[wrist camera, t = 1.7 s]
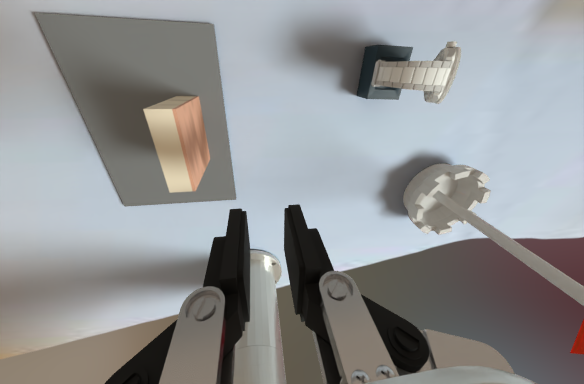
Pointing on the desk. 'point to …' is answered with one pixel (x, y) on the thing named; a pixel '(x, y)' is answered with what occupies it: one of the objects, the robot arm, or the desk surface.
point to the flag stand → (473, 219)
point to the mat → (142, 96)
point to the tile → (179, 141)
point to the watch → (407, 72)
